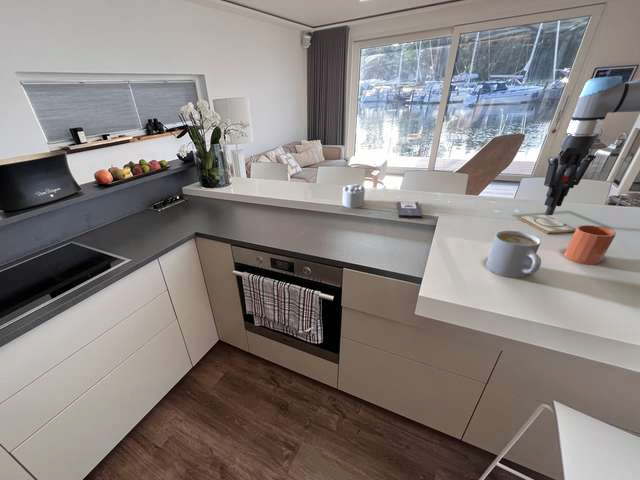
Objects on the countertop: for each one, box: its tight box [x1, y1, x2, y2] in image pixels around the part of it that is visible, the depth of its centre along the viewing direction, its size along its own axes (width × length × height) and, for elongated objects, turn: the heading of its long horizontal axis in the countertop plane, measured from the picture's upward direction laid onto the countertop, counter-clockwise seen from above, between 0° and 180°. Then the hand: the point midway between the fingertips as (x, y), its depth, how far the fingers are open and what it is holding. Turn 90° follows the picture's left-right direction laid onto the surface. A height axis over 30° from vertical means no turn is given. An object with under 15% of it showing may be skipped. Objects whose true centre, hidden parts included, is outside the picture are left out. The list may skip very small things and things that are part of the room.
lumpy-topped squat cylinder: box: [342, 183, 366, 209], centre depth 142 cm, size 10×13×9 cm
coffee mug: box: [485, 230, 542, 279], centre depth 80 cm, size 13×10×10 cm
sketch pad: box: [515, 213, 577, 235], centre depth 106 cm, size 20×16×1 cm
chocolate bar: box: [396, 201, 423, 219], centre depth 129 cm, size 9×1×18 cm
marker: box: [544, 174, 569, 216], centre depth 101 cm, size 2×2×14 cm
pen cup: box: [563, 224, 617, 266], centre depth 83 cm, size 8×8×9 cm
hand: (552, 205), depth 103 cm, fingers closed on marker, 2 cm apart
